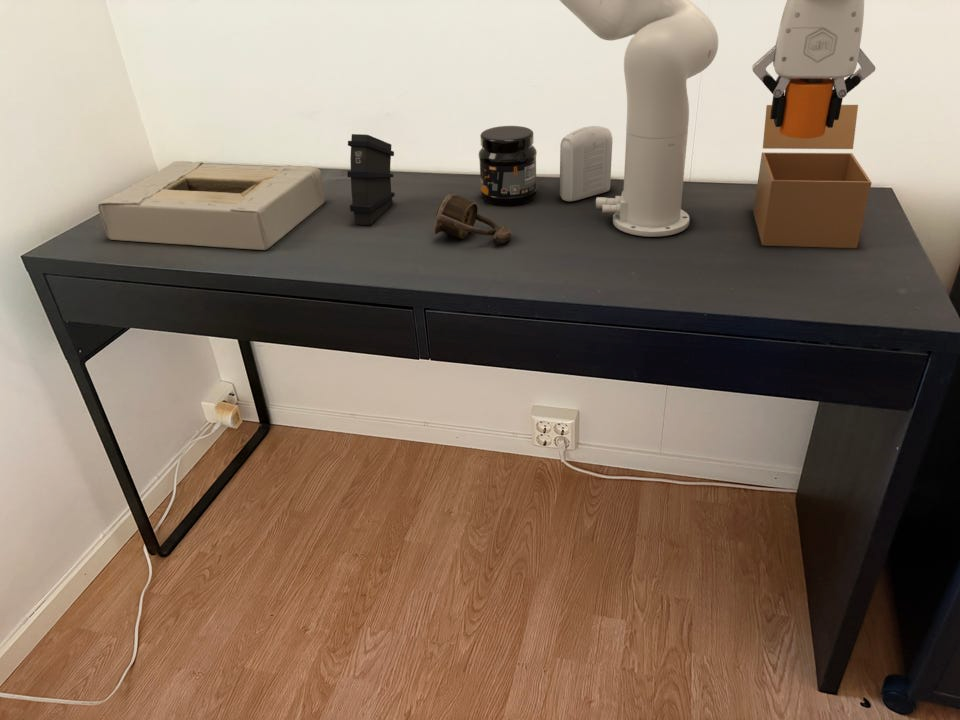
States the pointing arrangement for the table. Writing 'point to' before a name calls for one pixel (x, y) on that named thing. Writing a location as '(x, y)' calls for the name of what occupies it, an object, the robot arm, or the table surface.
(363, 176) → the black banded case
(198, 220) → the box
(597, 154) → the white rounded upright block
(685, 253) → the table surface
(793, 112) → the orange cylinder
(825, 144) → the flap
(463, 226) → the brown knobbed piece
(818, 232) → the carton
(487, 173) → the supplement container
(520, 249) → the table surface
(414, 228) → the table surface
